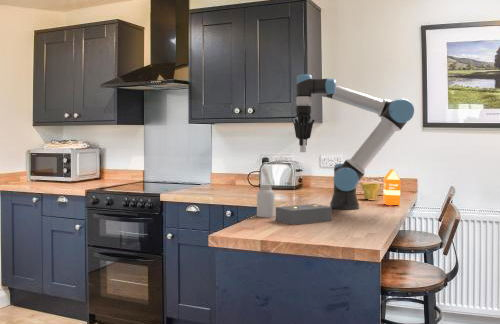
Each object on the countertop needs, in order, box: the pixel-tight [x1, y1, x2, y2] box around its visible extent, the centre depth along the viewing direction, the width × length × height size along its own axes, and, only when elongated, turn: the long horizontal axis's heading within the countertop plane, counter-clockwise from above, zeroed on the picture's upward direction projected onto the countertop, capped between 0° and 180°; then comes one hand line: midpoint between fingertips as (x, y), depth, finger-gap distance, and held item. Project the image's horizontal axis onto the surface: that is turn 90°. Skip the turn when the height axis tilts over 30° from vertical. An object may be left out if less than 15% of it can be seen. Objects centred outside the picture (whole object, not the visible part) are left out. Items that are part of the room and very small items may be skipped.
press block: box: [274, 203, 333, 226], centre depth 214 cm, size 22×12×6 cm, turn 123°
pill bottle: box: [256, 183, 275, 219], centre depth 224 cm, size 8×8×15 cm
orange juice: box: [382, 168, 402, 206], centre depth 271 cm, size 8×9×20 cm
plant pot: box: [361, 182, 381, 200], centre depth 292 cm, size 10×10×10 cm
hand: (302, 152), depth 247 cm, fingers closed
